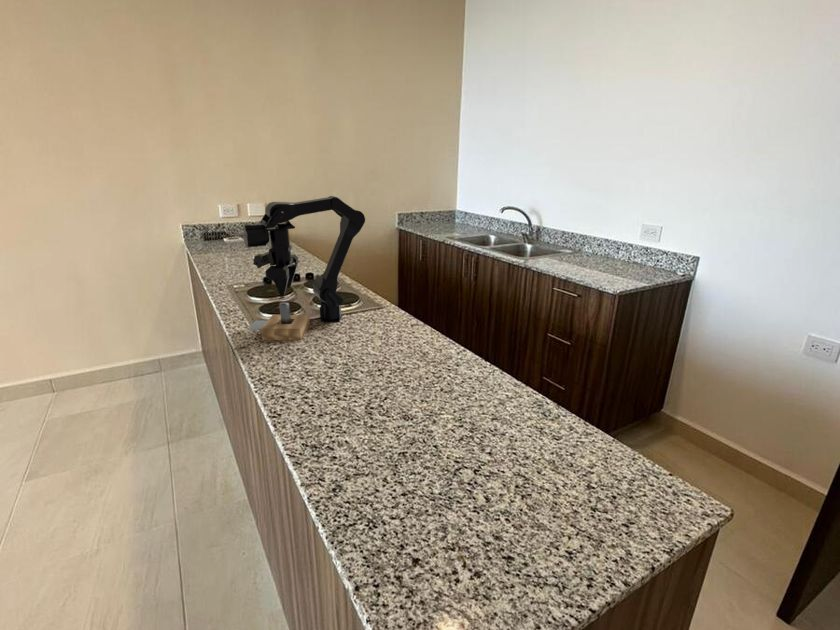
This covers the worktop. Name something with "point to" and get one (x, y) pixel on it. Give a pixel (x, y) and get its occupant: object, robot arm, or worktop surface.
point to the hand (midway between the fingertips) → (285, 291)
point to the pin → (285, 313)
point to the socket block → (285, 328)
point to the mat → (257, 325)
